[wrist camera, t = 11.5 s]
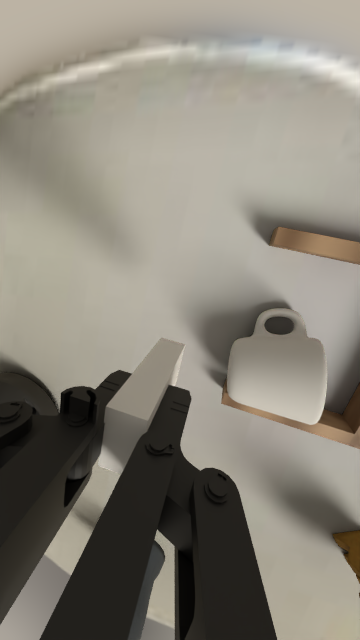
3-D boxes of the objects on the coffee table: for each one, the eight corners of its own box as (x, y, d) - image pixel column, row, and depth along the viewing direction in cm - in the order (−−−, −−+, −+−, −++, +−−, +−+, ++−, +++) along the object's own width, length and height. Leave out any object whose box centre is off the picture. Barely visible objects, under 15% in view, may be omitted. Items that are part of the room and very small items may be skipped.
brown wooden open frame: (222, 388, 29) (221, 406, 26) (273, 229, 23) (280, 226, 19) (355, 431, 26) (372, 456, 23) (453, 265, 20) (495, 268, 17)
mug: (171, 547, 40) (147, 653, 29) (157, 574, 43) (131, 679, 32) (109, 515, 41) (66, 605, 31) (100, 544, 44) (58, 634, 34)
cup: (234, 294, 22) (331, 299, 19) (238, 314, 29) (308, 320, 27) (220, 412, 20) (326, 435, 17) (228, 401, 27) (303, 416, 25)
